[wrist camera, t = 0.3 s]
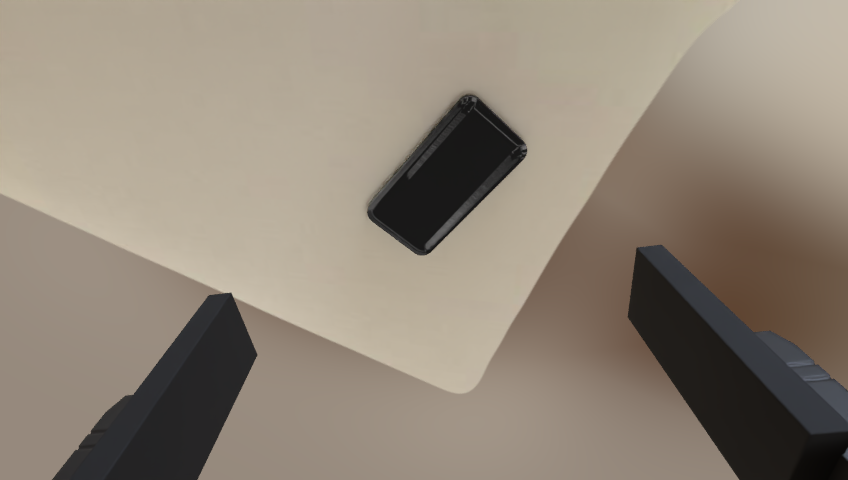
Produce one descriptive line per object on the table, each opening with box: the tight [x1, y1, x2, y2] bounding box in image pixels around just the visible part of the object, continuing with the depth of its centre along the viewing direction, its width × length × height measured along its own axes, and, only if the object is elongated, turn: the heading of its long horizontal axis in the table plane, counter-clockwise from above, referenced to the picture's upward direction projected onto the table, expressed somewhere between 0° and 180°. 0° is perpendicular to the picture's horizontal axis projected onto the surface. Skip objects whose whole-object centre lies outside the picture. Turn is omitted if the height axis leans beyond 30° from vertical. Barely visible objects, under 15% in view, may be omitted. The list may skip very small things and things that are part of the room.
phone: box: [367, 95, 527, 255], centre depth 39 cm, size 8×1×15 cm
